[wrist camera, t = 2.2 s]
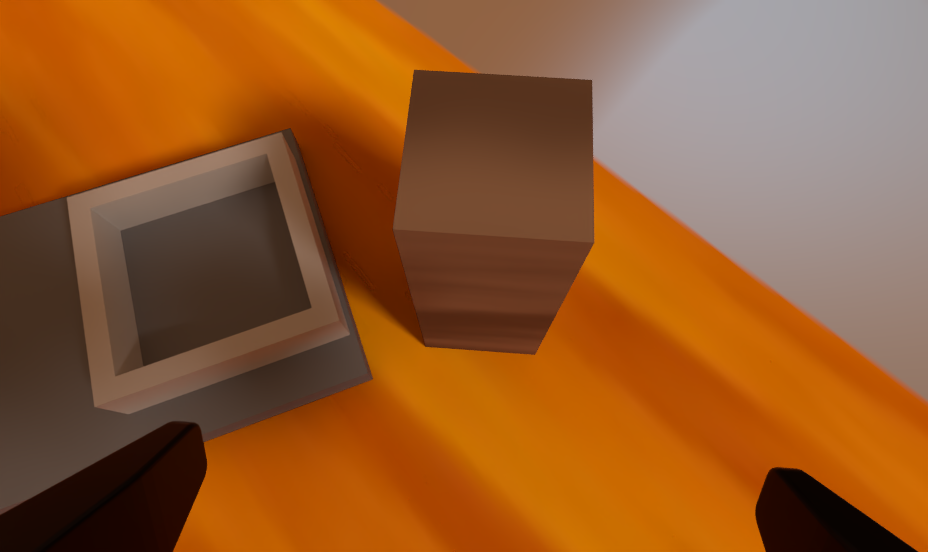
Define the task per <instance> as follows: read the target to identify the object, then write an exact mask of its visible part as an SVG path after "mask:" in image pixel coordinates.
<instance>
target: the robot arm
mask: <svg viewBox="0 0 928 552" xmlns="http://www.w3.org/2000/svg"><path fill="white" fill-rule="evenodd" d="M206 470H207V459H206V453H205V448H204V442H203V437H202V431H201V428H200V426H199V425H198V424H197V423H195V422H186V421H171V422H168V423H166V424H164V425H162V426H161V427H159V428H157V429H155V430H153V431H151V432H150V433H148V434H146V435H144V436H142V437H141V438H139V439H137V440H135V441H133V442H131V443H130V444H128V445H126V446H124V447H122V448H121V449H119V450H117V451H115V452H113V453H112V454H110V455H108V456H106V457H104V458H102V459H101V460H99V461H97V462H95V463H93V464H92V465H90V466H88V467H86V468H84V469H82V470H81V471H79V472H77V473H75V474H73V475H72V476H70V477H68V478H66V479H64V480H62V481H61V482H59V483H57V484H55V485H53V486H52V487H50V488H48V489H46V490H44V491H42V492H41V493H39V494H37V495H35V496H33V497H32V498H30V499H28V500H26V501H24V502H22V503H21V504H19V505H17V506H15V507H13V508H12V509H10V510H8V511H6V512H4V513H2V514H1V515H0V552H173V550H174V548H175V546H176V543H177V541H178V539H179V536H180V534H181V532H182V529H183V527H184V525H185V522H186V520H187V517H188V515H189V513H190V510H191V508H192V506H193V503H194V501H195V499H196V496H197V494H198V492H199V489H200V487H201V485H202V482H203V480H204V477H205V474H206ZM755 516H756V521H757V525H758V528H759V531H760V535H761V538H762V541H763V544H764V547H765V551H766V552H918V551H916V550H915V549H913V548H912V547H911V546H909V545H908V544H906V543H905V542H904V541H902V540H901V539H899V538H898V537H896V536H895V535H894V534H892V533H891V532H889V531H888V530H886V529H885V528H884V527H882V526H881V525H879V524H878V523H877V522H875V521H874V520H872V519H871V518H869V517H868V516H867V515H865V514H864V513H862V512H861V511H859V510H858V509H857V508H855V507H854V506H852V505H851V504H850V503H848V502H847V501H845V500H844V499H842V498H841V497H840V496H838V495H837V494H835V493H834V492H832V491H831V490H830V489H828V488H827V487H825V486H824V485H823V484H821V483H820V482H818V481H817V480H815V479H814V478H813V477H811V476H810V475H808V474H807V473H805V472H804V471H802V470H800V469H794V468H781V467H775V468H772V469H771V470H770V471H769V472H768V474H767V476H766V479H765V482H764V485H763V487H762V490H761V493H760V496H759V498H758V501H757V504H756V510H755Z"/></svg>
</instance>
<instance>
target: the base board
mask: <svg viewBox="0 0 928 552" xmlns="http://www.w3.org/2000/svg"><path fill="white" fill-rule="evenodd" d="M372 379H373V378H372V375H371V371H370V368H369V365H368V362H367V359H366V356H365V353H364V350H363V346H362V343H361V340H360V337H359V334H358V331H357V328H356V324H355V321H354V318H353V315H352V312H351V309H350V306H349V302H348V299H347V296H346V293H345V290H344V287H343V284H342V280H341V277H340V274H339V271H338V268H337V265H336V262H335V259H334V255H333V252H332V249H331V246H330V243H329V240H328V237H327V233H326V230H325V227H324V224H323V221H322V218H321V215H320V211H319V208H318V205H317V202H316V199H315V196H314V193H313V189H312V186H311V183H310V180H309V177H308V174H307V171H306V168H305V164H304V161H303V158H302V155H301V152H300V149H299V146H298V143H297V141H296V139H295V137H294V135H293V133H292V131H291V128H289V129H286V130H283V131H280V132H276V133H273V134H270V135H266V136H263V137H260V138H257V139H253V140H250V141H247V142H243V143H240V144H237V145H234V146H230V147H227V148H224V149H220V150H217V151H214V152H211V153H207V154H204V155H201V156H198V157H194V158H191V159H188V160H184V161H181V162H178V163H175V164H171V165H168V166H165V167H161V168H158V169H155V170H152V171H148V172H145V173H142V174H139V175H135V176H132V177H129V178H125V179H122V180H119V181H116V182H112V183H109V184H106V185H102V186H99V187H96V188H93V189H89V190H86V191H83V192H79V193H76V194H73V195H70V196H66V197H63V198H60V199H57V200H53V201H50V202H47V203H43V204H40V205H37V206H34V207H30V208H27V209H24V210H20V211H17V212H14V213H11V214H7V215H4V216H1V217H0V515H1V514H2V513H4V512H6V511H8V510H10V509H12V508H13V507H15V506H17V505H19V504H21V503H22V502H24V501H26V500H28V499H30V498H32V497H33V496H35V495H37V494H39V493H41V492H42V491H44V490H46V489H48V488H50V487H52V486H53V485H55V484H57V483H59V482H61V481H62V480H64V479H66V478H68V477H70V476H72V475H73V474H75V473H77V472H79V471H81V470H82V469H84V468H86V467H88V466H90V465H92V464H93V463H95V462H97V461H99V460H101V459H102V458H104V457H106V456H108V455H110V454H112V453H113V452H115V451H117V450H119V449H121V448H122V447H124V446H126V445H128V444H130V443H131V442H133V441H135V440H137V439H139V438H141V437H142V436H144V435H146V434H148V433H150V432H151V431H153V430H155V429H157V428H159V427H161V426H162V425H164V424H166V423H168V422H171V421H186V422H195V423H197V424H198V425H199V426H200V428H201V431H202V437H203V442H205V441H208V440H210V439H213V438H216V437H218V436H221V435H224V434H226V433H229V432H232V431H234V430H237V429H240V428H243V427H245V426H248V425H251V424H253V423H256V422H259V421H261V420H264V419H267V418H269V417H272V416H275V415H278V414H280V413H283V412H286V411H288V410H291V409H294V408H296V407H299V406H302V405H304V404H307V403H310V402H313V401H315V400H318V399H321V398H323V397H326V396H329V395H331V394H334V393H337V392H339V391H342V390H345V389H348V388H350V387H353V386H356V385H358V384H361V383H364V382H366V381H369V380H372Z"/></svg>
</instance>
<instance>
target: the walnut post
mask: <svg viewBox="0 0 928 552" xmlns="http://www.w3.org/2000/svg"><path fill="white" fill-rule="evenodd" d="M393 232H394V236H395V239H396V243H397V246H398V250H399V254H400V257H401V261H402V264H403V268H404V271H405V275H406V278H407V282H408V286H409V289H410V293H411V296H412V300H413V303H414V307H415V310H416V314H417V317H418V321H419V325H420V328H421V332H422V335H423V339H424V342H425V346H426V347H437V348H451V349H465V350H479V351H493V352H506V353H520V354H534V355H535V354H536V352H537V350H538V348H539V346H540V344H541V342H542V340H543V338H544V337H545V335H546V333H547V331H548V329H549V327H550V325H551V323H552V321H553V320H554V318H555V316H556V314H557V312H558V310H559V308H560V306H561V304H562V303H563V301H564V299H565V297H566V295H567V293H568V291H569V289H570V287H571V286H572V284H573V282H574V280H575V278H576V276H577V274H578V272H579V270H580V268H581V267H582V265H583V263H584V261H585V259H586V257H587V255H588V253H589V251H590V250H591V248H592V246H593V244H594V193H593V116H592V80H580V79H564V78H547V77H529V76H512V75H494V74H478V73H460V72H443V71H426V70H414V74H413V82H412V89H411V97H410V104H409V112H408V119H407V126H406V134H405V141H404V149H403V156H402V164H401V171H400V179H399V186H398V193H397V201H396V208H395V216H394V223H393Z"/></svg>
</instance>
